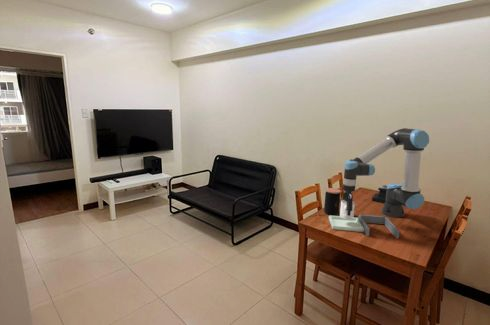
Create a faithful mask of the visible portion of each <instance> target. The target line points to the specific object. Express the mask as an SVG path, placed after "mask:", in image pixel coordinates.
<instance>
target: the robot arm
mask: <svg viewBox="0 0 490 325" xmlns="http://www.w3.org/2000/svg"><path fill="white" fill-rule="evenodd" d="M429 143H430V136H429V134H428V132H427V131H426V130H422V129H418V128H406V127H405V128H404V127H403V128H399V129H397V130H395V131H392V132H391V133H389V134H387V135H386V136H385V137H384V139H383V140H381V141H379V142H378V143H377V144H375V145H374V146H372V147H370V148H368V149H367V150H366V151H364V152H363V153H361V154H359V155H358V156H357V157H355V158H352V159H351V158H350V159H347V160H346V161H345V164H344V173H343V179H342V181H343V182H342V183H343V184H342V190H343V196H342V200H344V201H346V202H347V209H346V210H347V211H346V220H350V217H351V211H352V202H354V201H353V198H354V195H353V194H352V193H354V192H355V191H356V184H357V177H360V176H365V177H366V176H367V177H368V176H373V175H374V174H375V172H376V168H375V166H374V164H372V163H370V162H372V161H373V160H375V159H376V158H378V157H379V156H381V155H383V154H384V153H386V152H388V150H391V149H395V148H396V147H398V146H403V147H402V148H403V149H402V150H403V151H404V152H405V155H404V156H405V158H404V170H403V171H404V172H403V173H404V174H403V184H402V183H388V184H387V185H386V186H387V191H386V200H385V203H383V206H382V207H381V213H382V215H383V214H384V215H385V216H387V217H392V218H403V217H404V216H405V208H404V207H406V208H407V209H411V210H417V209H419V208H420V207H421V206H423V204H424V202H425V197H424V195H423V194H421V188H420V187H419V184H420V183H419V182H420V181H419V180H420V167H421V157H422V152H423V151H425V150H424V149H425V148H427V146H428V145H429Z"/></svg>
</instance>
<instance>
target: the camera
mask: <svg viewBox="0 0 490 325" xmlns="http://www.w3.org/2000/svg"><path fill="white" fill-rule="evenodd" d="M387 186H388V185H379V186H378V189H377V190H378V191H379V192H378V193H374V194H373V196H372V198H371V202H374V201H375V202H376V203H380V204H384V203H385V200H386V191H387ZM375 202H374V203H375Z"/></svg>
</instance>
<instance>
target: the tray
mask: <svg viewBox="0 0 490 325" xmlns="http://www.w3.org/2000/svg"><path fill="white" fill-rule="evenodd" d="M328 220H329V223H330V227H331V228H332V230H337V231H345V232H346V231H347V232H356V233H358V232H359V233H365V232H364V227H363V226H362V224H361V223H360V221H359V220H358V217H354V216H353V219H350V220H346V219H344V218H342V217H340V215H328Z"/></svg>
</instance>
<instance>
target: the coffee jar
mask: <svg viewBox="0 0 490 325" xmlns="http://www.w3.org/2000/svg"><path fill="white" fill-rule="evenodd" d="M341 191H342V190H341V189H339V188H335V187H328V188H326V189H325V194H324V195H325V196H324V207H323V212H324V213H325V214H326V215H328V216H338V215H339V214H340V206H341Z"/></svg>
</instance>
